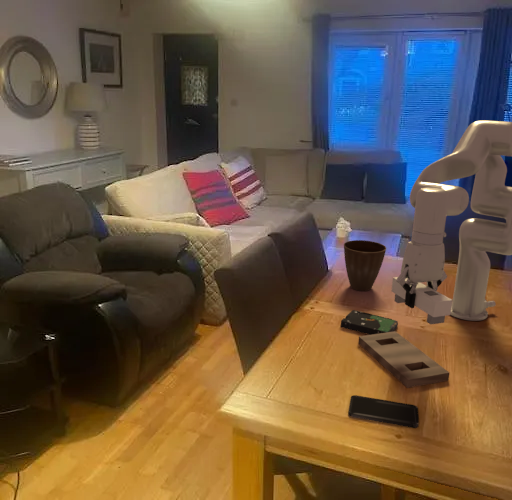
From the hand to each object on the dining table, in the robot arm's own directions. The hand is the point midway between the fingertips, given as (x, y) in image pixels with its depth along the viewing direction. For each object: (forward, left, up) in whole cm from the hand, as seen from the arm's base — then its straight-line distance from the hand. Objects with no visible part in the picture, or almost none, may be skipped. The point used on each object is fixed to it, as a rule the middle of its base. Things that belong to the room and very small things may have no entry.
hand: (418, 304), depth 134 cm
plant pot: (-14, -51, -16) cm, 55 cm away
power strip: (0, 0, -2) cm, 2 cm away
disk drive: (+1, -21, -17) cm, 27 cm away
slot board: (+3, 0, -16) cm, 16 cm away
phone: (+20, +19, -17) cm, 32 cm away
